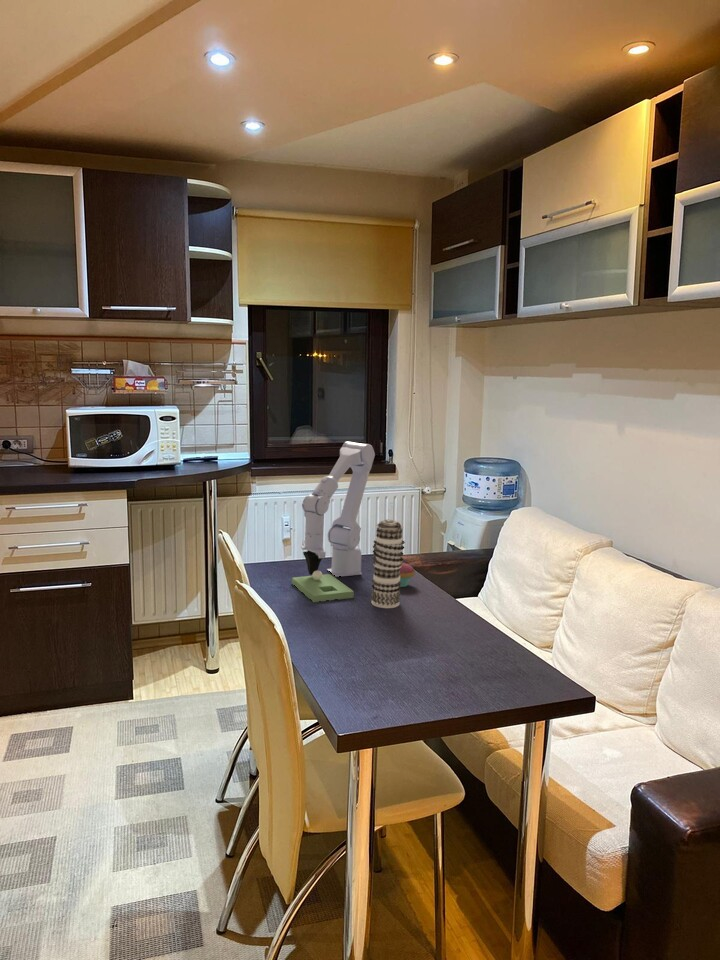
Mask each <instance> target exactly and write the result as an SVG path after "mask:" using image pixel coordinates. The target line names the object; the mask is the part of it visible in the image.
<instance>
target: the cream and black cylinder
mask: <svg viewBox="0 0 720 960" xmlns="http://www.w3.org/2000/svg"><path fill="white" fill-rule="evenodd" d="M375 528H376V535H375V540H373V545H372V547H373V550H372V553H373V557H372V560H373V562H372V566H374V573H373V577H372V578H373V579H372V580H371V582H372V585H371V588H372V590H371V597H370V599H371V602H370V603H371V605H372V606H374V607H377V608H381V609H394V608H398V607H399V606H400V604H401V603H400V600H401V598H400V596H401V593H400V592H401V588H402V587H400V584H401V582H400V568H401V567H402V565H401V563H402V562H403V560H404V558H403V555H404V553H403V551H402V550H404V549H405V546H404V544H405V543H406V542H405V540H403V539H404V538H403V529H404V526H402V524H401V523H400V522H399V521H397V520H396V519H395V520H393V519H382V520H380V521H379V522H378V524H376V525H375ZM400 561H401V563H400Z"/></svg>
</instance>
